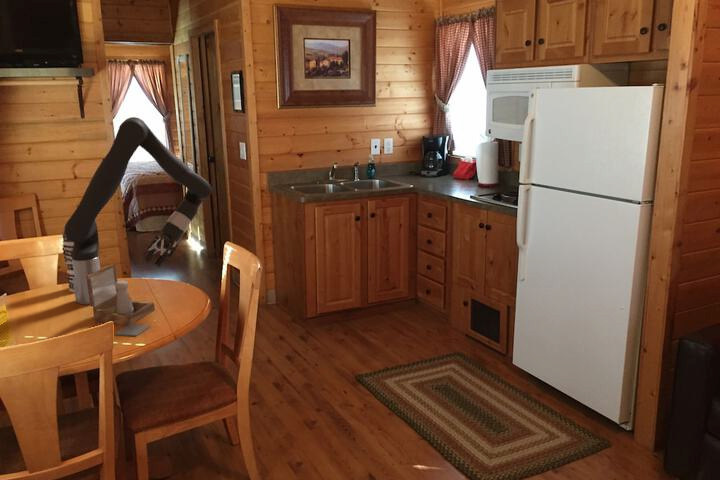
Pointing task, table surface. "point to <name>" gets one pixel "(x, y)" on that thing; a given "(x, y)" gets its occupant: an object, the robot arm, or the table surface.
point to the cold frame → (112, 298)
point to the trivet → (132, 330)
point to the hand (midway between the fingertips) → (151, 263)
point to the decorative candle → (68, 260)
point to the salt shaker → (123, 299)
